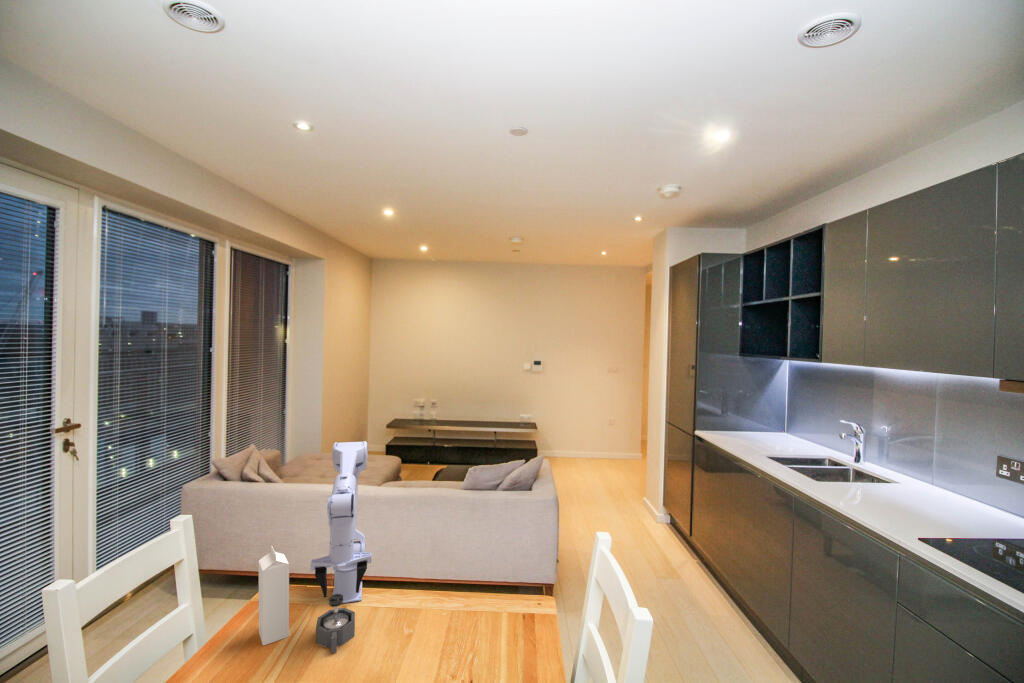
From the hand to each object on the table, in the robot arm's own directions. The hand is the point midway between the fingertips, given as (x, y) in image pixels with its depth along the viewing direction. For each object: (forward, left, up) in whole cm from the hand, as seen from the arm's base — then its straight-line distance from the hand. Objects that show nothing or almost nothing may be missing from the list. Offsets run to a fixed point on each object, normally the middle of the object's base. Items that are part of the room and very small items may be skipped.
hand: (341, 593), depth 119 cm
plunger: (0, -1, -7) cm, 7 cm away
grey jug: (+2, -1, -10) cm, 11 cm away
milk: (-4, -16, -11) cm, 20 cm away
